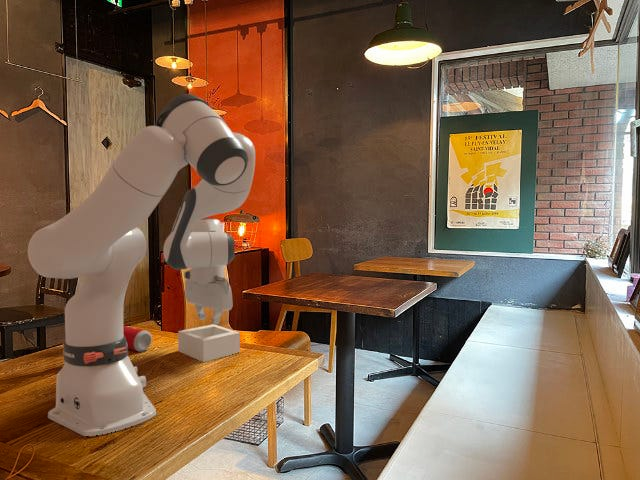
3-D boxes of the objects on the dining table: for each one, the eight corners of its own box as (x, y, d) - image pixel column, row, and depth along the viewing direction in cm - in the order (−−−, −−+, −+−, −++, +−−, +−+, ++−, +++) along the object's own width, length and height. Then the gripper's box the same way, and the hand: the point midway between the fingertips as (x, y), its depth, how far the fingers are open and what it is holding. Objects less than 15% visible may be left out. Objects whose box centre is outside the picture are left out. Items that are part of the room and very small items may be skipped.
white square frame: (239, 352, 137) (239, 332, 136) (203, 362, 128) (203, 340, 128) (213, 343, 146) (213, 324, 146) (178, 351, 138) (178, 331, 138)
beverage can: (156, 334, 141) (130, 329, 147) (141, 328, 136) (115, 322, 142) (148, 354, 138) (122, 348, 145) (132, 349, 134) (106, 342, 140)
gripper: (237, 277, 131) (238, 325, 131) (199, 270, 145) (200, 314, 146) (218, 279, 126) (218, 330, 127) (180, 272, 141) (181, 317, 142)
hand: (208, 321), depth 137 cm, fingers open, 6 cm apart
